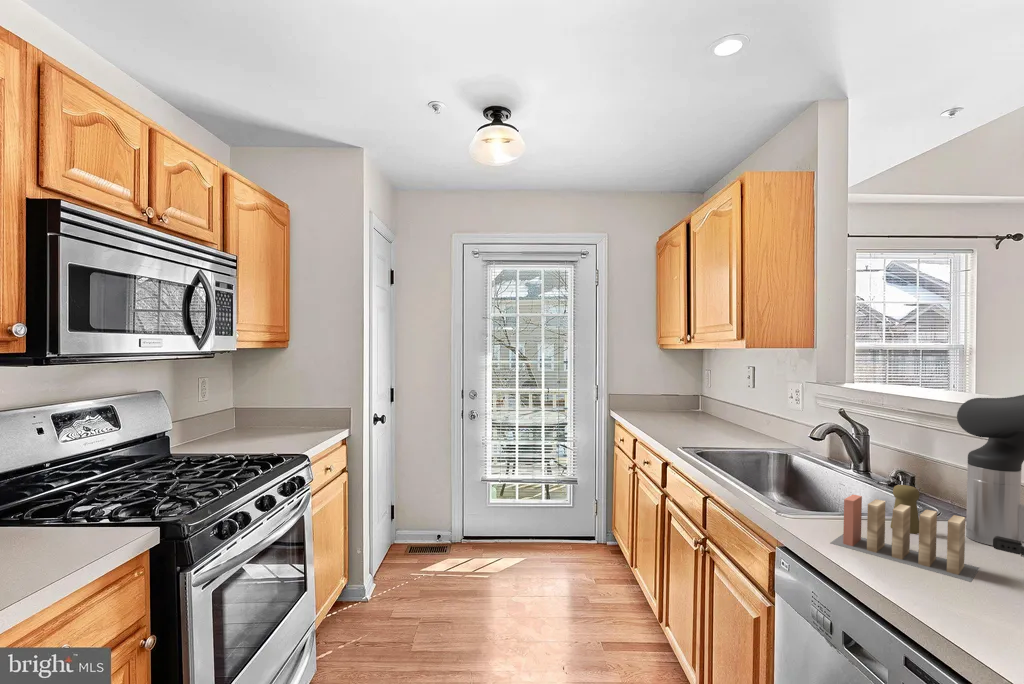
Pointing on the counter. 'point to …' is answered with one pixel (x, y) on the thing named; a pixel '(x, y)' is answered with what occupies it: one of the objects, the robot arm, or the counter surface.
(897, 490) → the cork
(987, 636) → the counter surface
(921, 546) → the domino
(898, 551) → the domino
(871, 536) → the domino
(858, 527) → the domino
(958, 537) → the domino
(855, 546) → the mat
